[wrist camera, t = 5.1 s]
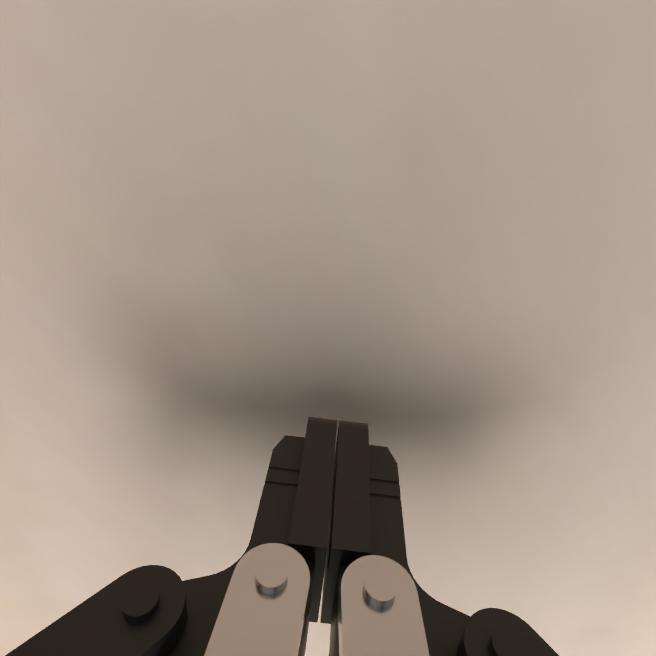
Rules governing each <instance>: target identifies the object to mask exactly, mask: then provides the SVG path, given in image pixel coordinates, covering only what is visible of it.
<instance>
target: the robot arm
mask: <svg viewBox="0 0 656 656" xmlns="http://www.w3.org/2000/svg"><path fill="white" fill-rule="evenodd" d="M336 429H337V420H330V419H321V418H312V417H309V419H308V425H307V431H306V437H305V438H303V437H294V436H286V435H285V436H284V438H283V439H282V440H281V441H280V442H279V443H278V444H277V446H276V447H275V448H274V449H273V452H272V456H271V460H270V464H269V470H268V472H267V476H266V480H265V485H264V488H263V492H262V496H261V500H260V504H259V508H258V512H257V516H256V520H255V524H254V528H253V532H252V536H251V540H250V543H249V546H248V547H247V549H246V551H245V553H244V554H243V555H242V557H241V558H240V559H239V560H238V561H237V562H236V563H234V564H233V565H232V566H231V567H229V568H227V569H226V570H224V571H221V572H219V573H217V574H213V575H210V576H205V577H200V578H195V579H190V580H185V581H182V580H181V579H180V577H179V576H178V575H177V574H176V573H175V572H174V571H172V570H171V569H169V568H166V567H164V566H158V565H149V566H142V567H139V568H136V569H133V570H131V571H129V572H127V573H125V574H124V575H122V576H121V577H119V578H118V579H116V580H115V581H113V582H112V583H110V584H109V585H107V586H106V587H105V588H103V589H102V590H100V591H99V592H97V593H96V594H94V595H93V596H91V597H90V598H89V599H87V600H86V601H84V602H83V603H81V604H80V605H78V606H77V607H75V608H74V609H73V610H71V611H70V612H68V613H67V614H65V615H64V616H62V617H61V618H59V619H58V620H57V621H55V622H54V623H52V624H51V625H49V626H48V627H46V628H45V629H43V630H42V631H40V632H39V633H38V634H36V635H35V636H33V637H32V638H30V639H29V640H27V641H26V642H24V643H23V644H22V645H20V646H19V647H17V648H16V649H14V650H13V651H11V652H10V653H8V654H7V655H6V656H304V655H305V649H306V641H307V633H308V625H309V621H310V622H317V621H318V613H319V606H320V599H321V592H322V585H323V597H322V610H321V623H329V624H331V634H330V651H329V656H559V655H558V654H557V653H556V652H555V651H554V650H553V649H552V648H551V647H550V646H549V645H548V644H547V643H546V642H545V641H544V640H543V639H542V638H541V637H540V636H539V635H538V634H537V633H536V632H535V631H534V630H533V629H532V628H531V627H530V626H529V625H528V624H527V623H526V622H525V621H523V620H522V619H521V618H519V617H518V616H516V615H514V614H512V613H510V612H508V611H505V610H502V609H497V608H486V609H482V610H479V611H477V612H476V613H474V614H473V615H472V616H471V617H470V616H468V615H466V614H463V613H461V612H459V611H457V610H455V609H453V608H451V607H448V606H446V605H444V604H442V603H440V602H438V601H436V600H435V599H433V598H432V597H431V596H429V595H428V594H427V593H426V592H425V591H424V590H423V589H422V588H421V587H420V586H419V585H418V584H417V582H416V581H415V579H414V578H413V576H412V574H411V572H410V570H409V567H408V563H407V557H406V547H405V537H404V527H403V517H402V507H401V501H400V487H399V477H398V467H397V462H396V461H395V459H394V458H393V456H392V454H391V453H390V451H389V449H388V448H387V447H381V446H373V445H369V436H368V424H365V423H357V422H348V421H339V426H338V434H337V441H336ZM335 442H336V449H335ZM334 456H335V457H334ZM323 578H324V584H323Z"/></svg>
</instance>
